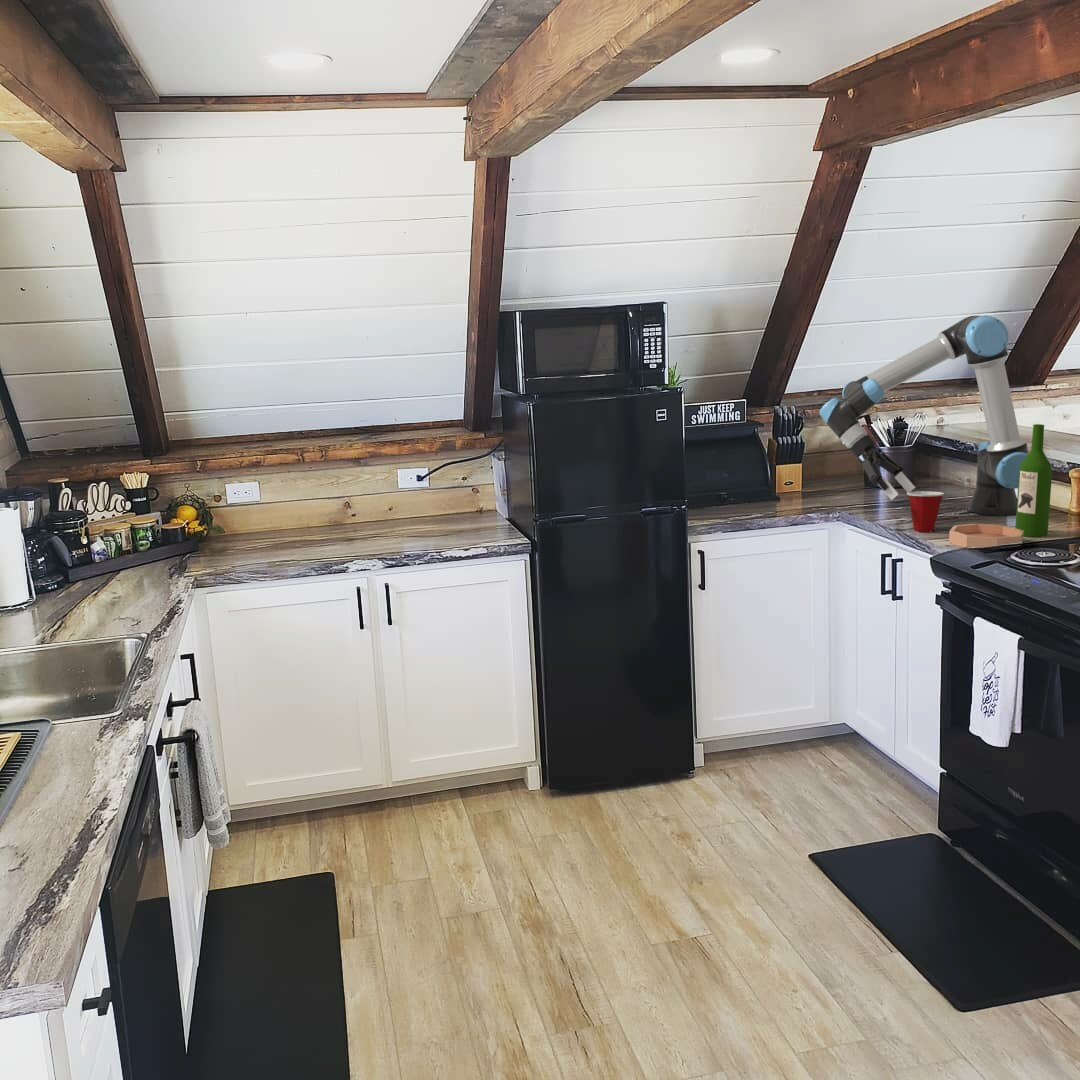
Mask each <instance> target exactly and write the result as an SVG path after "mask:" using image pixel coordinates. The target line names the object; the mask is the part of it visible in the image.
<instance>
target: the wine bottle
mask: <svg viewBox="0 0 1080 1080" xmlns="http://www.w3.org/2000/svg"><path fill="white" fill-rule="evenodd" d="M1032 426H1033V427H1032V436H1031V446H1030V447H1031V449H1030V450H1029V454H1028V455H1027V457H1026V458H1025V459H1024V461H1023V462H1022V463H1021V465H1020V469H1019V480H1018V488H1017V494H1016V496H1017V510H1016V514H1015V527H1014V528H1016V529H1020V530H1023V531H1024V535H1023V538H1035V537H1037V538H1043V537H1042V536H1045V537H1047V536H1048V535H1049V533H1048V532H1049V522H1050V519H1049V518H1050V506H1051V504H1050V503H1051V493H1052V492H1051V491H1052V480H1053V479H1052V478H1053V469H1052V464H1051V462H1050V461H1049V459H1048V458H1047V455H1046V454H1045V452H1044V440H1045V439H1044V437H1045V436H1044V434H1045V424H1037V423H1036V424H1033V425H1032Z"/></svg>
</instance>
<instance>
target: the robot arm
mask: <svg viewBox="0 0 1080 1080" xmlns="http://www.w3.org/2000/svg"><path fill="white" fill-rule="evenodd" d="M1008 342H1009V331H1008V327H1007V326H1006V325H1005V323H1004V322H1002V321H1001V320H1000V319H998V318H997V317H995V316H992V315H991V316H990V315H969V316H967V317H964V318H963V319H960V320H959V321H957V322H956V323H955V324H952V325H950V326H949V327H947V328H946V329H944V330H942V331H941V332H939V333H938V335H937V337H936V338H934V339H933V340H931V341H929V342H927V343H924V344H922V345H921V346H919V347H917V348H916V349H913V350H911V351H910V352H908V353H906V354H904V355H902V356H900V357H898V358H897V359H895V360H893V361H890V362H888V363H887V364H886V365H883V366H881V367H880V368H878V369H876V370H874V371H873V372H872V371H871V372H870V373H869V374H867V375H865V376H862V377H861V378H858V379H857V380H852V381H849V382H848V383H846V384H845V385H844V387H843V389H842V390H841V391H842V393H841V395H842V398H843V399H841V400H840V399H838V398H837V397H834V398H831V399H830V400H829V401H827V402H825V404H823V405H822V407H821V408H820V409H819V415H820V418H821V419H822V420H823V421H824V422H825V424H826V425H827V426H828V427H829V429H830V430H832V432H833V433H834V434H835V435H836V436H837V437H838V439H840V441H841V442H842V443H841V444H842V445H845V447H846V448H847V449H849V451H850V453H851V454H852V455H853V456H854V457H855V458H856V459H857V460H858V461H859V463H860V465H861V466H862V467H863V469H864V471H865V474H866V475H867V476H868V479H869V480H870V482H871V483H872V484H873V485H874V486H876V485H877V486H879V487H880V488H881V490H882V491H883V492H884V493H885V494H886V496H887V497H888V498H889V499H890V500H891V501H892V500H893V499H895V498H896V497H897V496H898V495H899V492H898V491H897V490H896V489H895V487H893V486H892V483H890V482H889V481H888V480H887V478H886V477H883V475H882V473H881V470H880V468H882V469H884V470H885V471H887V472H888V473H890V474H892V475H893V476H894V479H895V480H896V481H897V482H898V484H899V485H901V486H902V488H903V489H904V490H905V491H906V493H907V492H913V490H914V489H915V488H916V486H915V485H914V484H913V483H912V481H911V480H910V479H909V478H908V477H907V476H906V474H904V472H903V471H904V470H905V469H904V467H902V466H901V465H900V464H899V463H897V461H895V460H894V459H892V458H891V457H890V456H889V455H888V454H887V453H885V452H884V451H883V450H882V449H881V448H880V447H879V448H878V449H875V446H876V443H877V442H876V440H874V439H873V437H872V436H871V435H870V434H868V431H866V429H865V428H864V427H863V426H862V425H861V423H860V422H859V421H858V420H857V419H859V418H860V417H862V415H864V414H865V413H866V412H868V411H869V410H870V409H872V407H874V406H875V405H877V404H878V403H880V401H881V400H882V399H883V398H885V396H886V392H887V391H889V390H891V389H894V388H895V387H897V386H899V385H901V384H903V383H905V382H906V381H908V380H910V379H912V378H915V377H916V376H918V375H920V374H922V373H923V372H925V371H928V370H929V369H931V368H933V367H936V366H937V365H939V364H941V363H943V362H944V361H947V360H948V359H949V360H953V361H954V360H956V359H957V358H959V357H962V356H964V355H965V357H966V360H967V365H968V366H969V367H971V368H972V369H974V372H975V377H976V382H977V387H978V388H977V389H978V392H979V396H980V400H981V405H982V410H983V414H984V419H985V423H986V428H987V432H988V438H989V441H983V442H980V443H979V444H978V450H977V451H976V452H977V466H976V483H975V484H976V485H975V490H974V492H973V495H972V498H971V500H970V502H969V505H968V510H970V511H969V512H971V513H973V512H974V513H973V514H977V513H979V515H984V516H1014V515H1016V510H1017V493H1016V490H1015V489H1017V490H1018V480H1019V469H1020V465H1021V463H1022V462H1023V461H1024V459H1025V458H1026V457H1027V455H1028V454H1029V453H1030V451H1029V447H1028V444H1027V440H1026V439H1024V438H1023V437H1021V436H1020V431H1019V427H1018V423H1017V417H1016V413H1015V408H1014V402H1013V399H1012V398H1013V397H1012V393H1011V390H1010V389H1011V388H1010V384H1009V379H1008V374H1007V370H1006V365H1005V360H1006V359H1007V357H1009V353H1008V348H1007V344H1008Z"/></svg>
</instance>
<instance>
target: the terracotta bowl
mask: <svg viewBox="0 0 1080 1080" xmlns="http://www.w3.org/2000/svg"><path fill="white" fill-rule="evenodd" d="M948 535H949V537H948V543H949V542H950V543H949V544H951V543H952V545H956V546H959V547H961V548H964V547H987V546H995V545H1001V544H1009V543H1017V542H1021V541H1023V542H1024V537H1023V535H1024V531H1023V530H1020V529H1016V528H1015V527H1011V526H1008V525H1002V524H990V523H988V524H987V523H968V524H958V525H956V524H955V525H953V526H952V527H951V529H949V534H948Z"/></svg>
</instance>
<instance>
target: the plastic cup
mask: <svg viewBox="0 0 1080 1080" xmlns="http://www.w3.org/2000/svg"><path fill="white" fill-rule="evenodd" d="M944 495H945V493H944V492H940V491H927V490H926V491H911V492H907V491H906V496H907V497H908V501H909V504H910V505H909V506H910V513H911V521H912V527H913V528H912V529H913V531H914V530H915V531H914V532H916V531H918V532H917V533H925V532H926V533H931V532H930V531H933V532H934V530H935V527H936V523H937V519H938V515H939V511H940V507H941V506H940V504H941V503H942V500H943V499H942V498H943V496H944Z"/></svg>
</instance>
